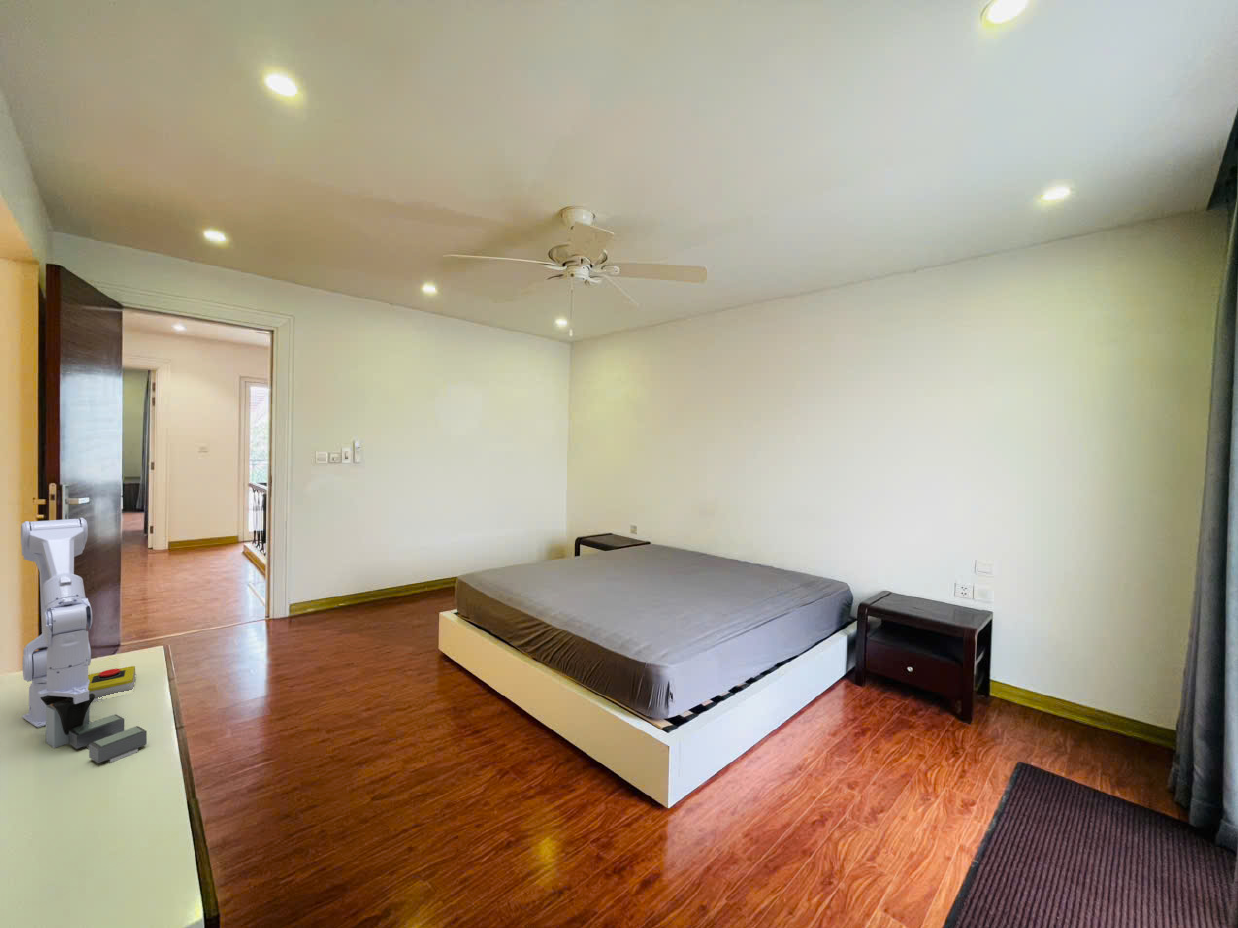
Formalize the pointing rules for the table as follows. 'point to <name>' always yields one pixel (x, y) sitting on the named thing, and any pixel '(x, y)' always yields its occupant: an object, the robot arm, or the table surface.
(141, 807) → the table surface
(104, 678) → the emergency button
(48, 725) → the block
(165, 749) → the table surface
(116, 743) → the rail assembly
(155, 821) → the table surface
